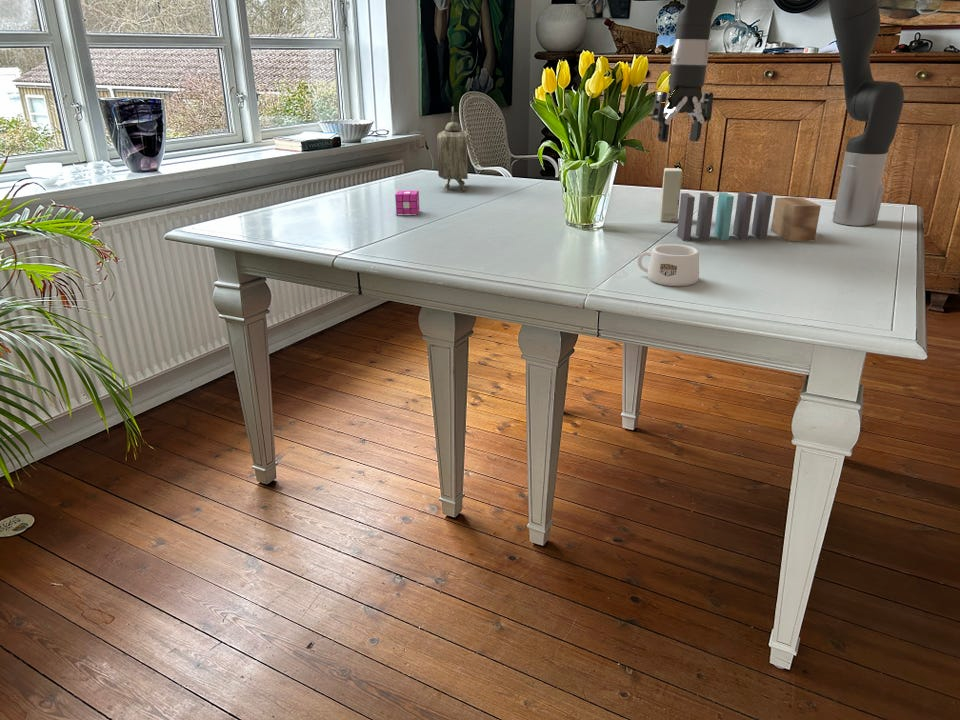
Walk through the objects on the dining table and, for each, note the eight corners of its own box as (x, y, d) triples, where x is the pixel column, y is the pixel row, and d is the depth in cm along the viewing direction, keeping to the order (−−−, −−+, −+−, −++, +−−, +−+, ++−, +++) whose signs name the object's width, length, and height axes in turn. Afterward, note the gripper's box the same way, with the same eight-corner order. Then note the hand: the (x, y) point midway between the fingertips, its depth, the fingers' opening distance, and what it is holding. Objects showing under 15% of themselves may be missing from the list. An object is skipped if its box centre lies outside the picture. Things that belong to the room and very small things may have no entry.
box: (677, 222, 182) (682, 171, 177) (659, 221, 183) (664, 170, 178) (676, 218, 187) (681, 167, 182) (659, 217, 188) (663, 167, 182)
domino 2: (702, 235, 170) (707, 192, 166) (709, 240, 165) (714, 196, 161) (695, 235, 170) (700, 192, 166) (702, 240, 165) (707, 197, 161)
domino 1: (683, 235, 170) (687, 193, 166) (690, 240, 165) (694, 197, 161) (676, 235, 170) (681, 193, 166) (683, 240, 165) (687, 197, 161)
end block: (794, 230, 173) (800, 197, 170) (814, 240, 164) (820, 205, 161) (770, 230, 173) (775, 197, 170) (788, 241, 164) (794, 206, 160)
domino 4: (739, 234, 170) (745, 191, 166) (747, 239, 166) (753, 196, 162) (732, 234, 170) (738, 192, 166) (740, 239, 166) (746, 196, 162)
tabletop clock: (467, 193, 222) (466, 108, 212) (438, 193, 222) (435, 108, 212) (467, 184, 235) (466, 104, 225) (440, 185, 235) (437, 104, 225)
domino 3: (720, 234, 170) (725, 192, 166) (728, 239, 165) (733, 196, 161) (713, 234, 170) (719, 192, 166) (721, 240, 165) (727, 196, 161)
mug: (703, 276, 140) (706, 246, 137) (691, 290, 132) (695, 259, 130) (643, 269, 145) (645, 240, 143) (628, 282, 137) (631, 251, 135)
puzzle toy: (417, 215, 193) (416, 194, 191) (396, 215, 193) (395, 194, 191) (419, 211, 198) (418, 190, 196) (399, 211, 199) (398, 190, 196)
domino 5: (757, 233, 170) (764, 191, 166) (766, 238, 166) (773, 195, 162) (751, 233, 170) (757, 191, 166) (759, 239, 166) (766, 195, 162)
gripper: (672, 62, 147) (662, 144, 153) (726, 63, 152) (715, 142, 159) (650, 61, 153) (642, 140, 160) (703, 63, 159) (693, 139, 165)
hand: (678, 141), depth 159 cm, fingers open, 8 cm apart
